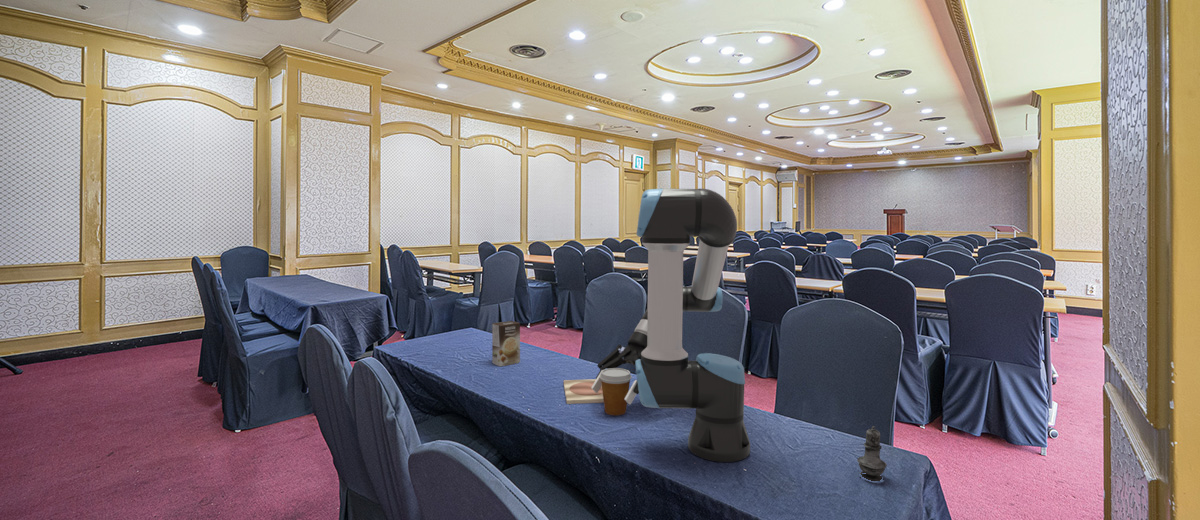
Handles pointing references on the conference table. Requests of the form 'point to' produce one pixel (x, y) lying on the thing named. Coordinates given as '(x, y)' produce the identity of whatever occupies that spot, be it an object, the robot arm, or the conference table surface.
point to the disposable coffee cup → (615, 390)
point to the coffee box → (505, 343)
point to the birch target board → (582, 392)
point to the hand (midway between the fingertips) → (610, 396)
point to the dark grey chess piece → (872, 457)
